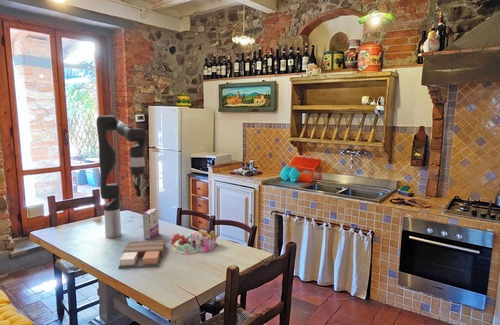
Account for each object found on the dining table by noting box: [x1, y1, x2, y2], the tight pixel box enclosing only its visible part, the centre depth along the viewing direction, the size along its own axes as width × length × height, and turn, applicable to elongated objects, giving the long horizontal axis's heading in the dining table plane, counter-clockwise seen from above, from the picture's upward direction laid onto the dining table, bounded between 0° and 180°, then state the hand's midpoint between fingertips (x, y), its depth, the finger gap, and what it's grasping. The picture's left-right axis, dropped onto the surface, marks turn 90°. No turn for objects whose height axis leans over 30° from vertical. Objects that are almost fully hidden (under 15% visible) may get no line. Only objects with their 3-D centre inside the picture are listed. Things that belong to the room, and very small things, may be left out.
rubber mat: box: [118, 256, 162, 270], centre depth 173 cm, size 11×19×1 cm, turn 97°
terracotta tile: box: [143, 251, 160, 264], centre depth 174 cm, size 9×7×3 cm
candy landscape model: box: [170, 229, 219, 255], centre depth 195 cm, size 25×24×9 cm
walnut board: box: [122, 239, 166, 259], centre depth 185 cm, size 15×20×4 cm
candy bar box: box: [142, 208, 160, 240], centre depth 210 cm, size 11×5×16 cm, turn 168°
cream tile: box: [119, 252, 138, 265], centre depth 172 cm, size 9×7×3 cm
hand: (138, 196), depth 185 cm, fingers closed
